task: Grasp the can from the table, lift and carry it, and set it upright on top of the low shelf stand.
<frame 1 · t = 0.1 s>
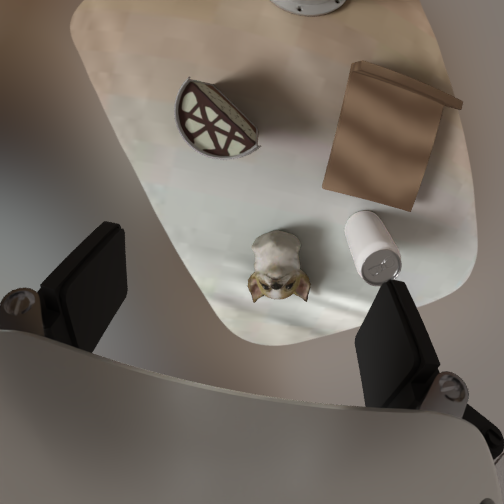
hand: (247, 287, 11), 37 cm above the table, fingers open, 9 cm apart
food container: (220, 120, 42), on the table
can: (362, 227, 49), on the table
ceramic sculpture: (278, 259, 53), on the table
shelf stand: (379, 135, 41), on the table
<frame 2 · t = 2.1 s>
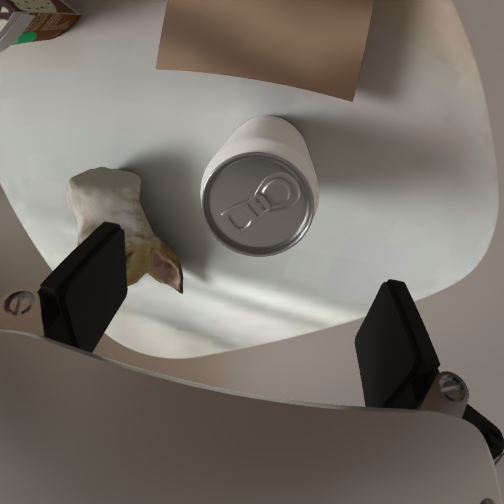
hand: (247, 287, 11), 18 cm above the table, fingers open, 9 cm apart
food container: (42, 20, 19), on the table
can: (267, 151, 26), on the table
ceramic sculpture: (132, 221, 31), on the table
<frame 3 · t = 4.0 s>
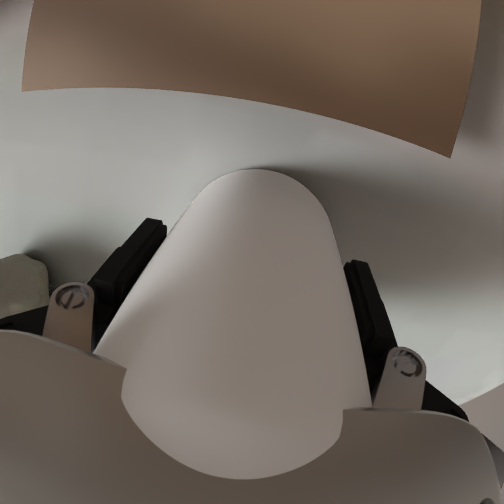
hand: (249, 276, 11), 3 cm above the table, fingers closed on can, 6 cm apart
can: (257, 234, 14), on the table, touching gripper
ceramic sculpture: (60, 318, 19), on the table
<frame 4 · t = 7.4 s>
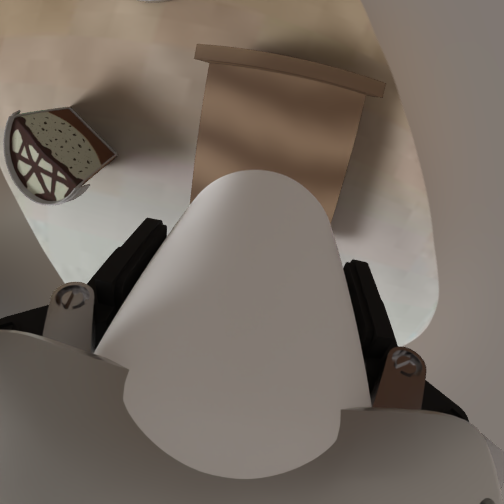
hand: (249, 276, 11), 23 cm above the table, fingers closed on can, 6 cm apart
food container: (81, 147, 33), on the table
can: (257, 235, 14), point 20 cm above the table, touching gripper
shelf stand: (273, 149, 31), on the table
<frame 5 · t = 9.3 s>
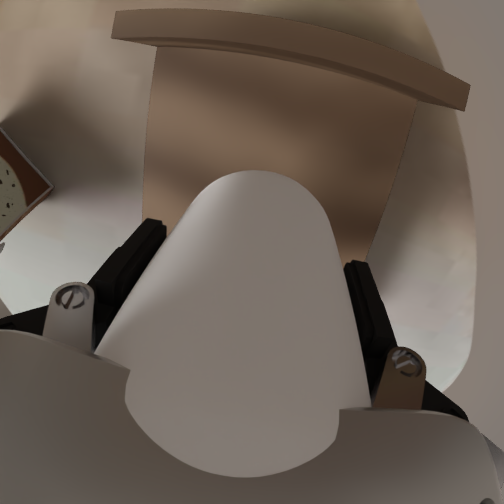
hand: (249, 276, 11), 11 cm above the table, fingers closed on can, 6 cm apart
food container: (14, 177, 22), on the table
can: (257, 235, 14), point 8 cm above the table, touching gripper
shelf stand: (265, 179, 21), on the table
when the fingers open (8 cm above the table, at t = 10.8 s): can drops 1 cm, resting on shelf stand.
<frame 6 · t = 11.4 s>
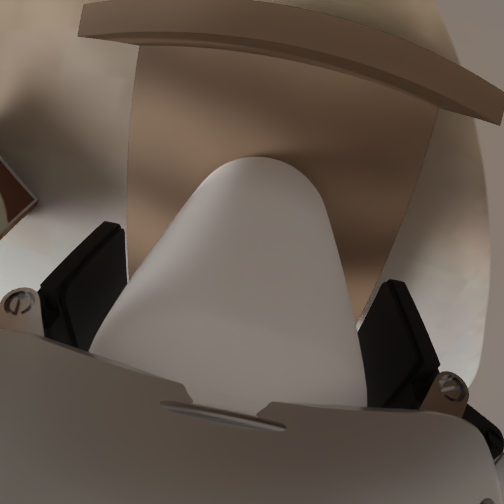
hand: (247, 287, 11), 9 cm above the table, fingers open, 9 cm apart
can: (258, 217, 15), point 4 cm above the table, touching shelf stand
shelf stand: (264, 194, 19), on the table
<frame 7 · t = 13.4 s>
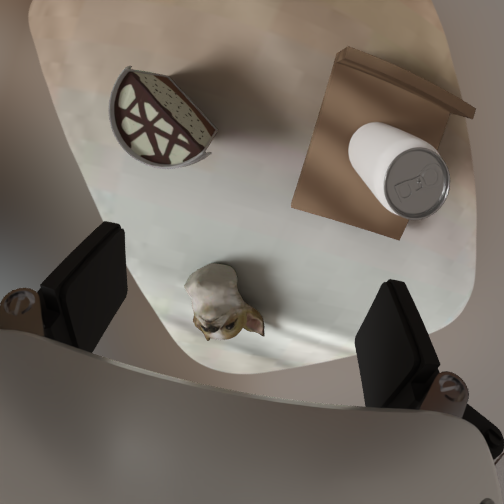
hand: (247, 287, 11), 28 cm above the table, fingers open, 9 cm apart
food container: (175, 118, 35), on the table
can: (375, 150, 31), point 4 cm above the table, touching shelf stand
ceramic sculpture: (224, 293, 47), on the table
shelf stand: (367, 145, 34), on the table
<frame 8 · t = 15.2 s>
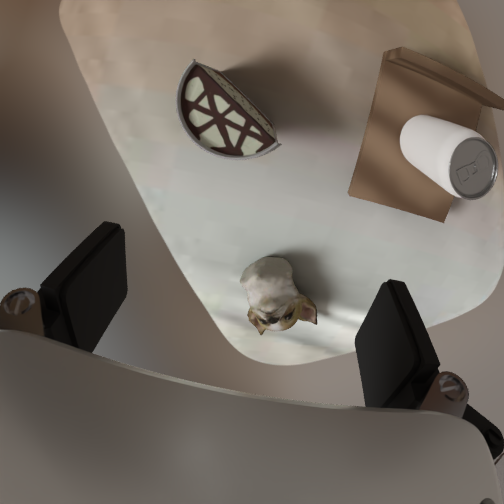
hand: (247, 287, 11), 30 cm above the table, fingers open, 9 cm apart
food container: (229, 113, 36), on the table
can: (422, 140, 31), point 4 cm above the table, touching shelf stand
ceramic sculpture: (276, 285, 48), on the table
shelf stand: (410, 136, 34), on the table
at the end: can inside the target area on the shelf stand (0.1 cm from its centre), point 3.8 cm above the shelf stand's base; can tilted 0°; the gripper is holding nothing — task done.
